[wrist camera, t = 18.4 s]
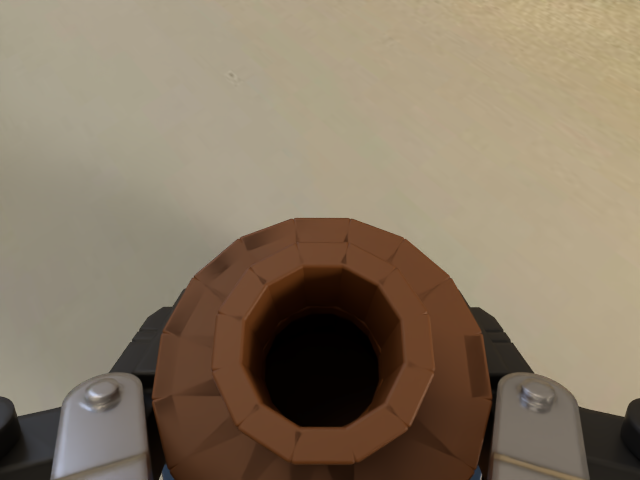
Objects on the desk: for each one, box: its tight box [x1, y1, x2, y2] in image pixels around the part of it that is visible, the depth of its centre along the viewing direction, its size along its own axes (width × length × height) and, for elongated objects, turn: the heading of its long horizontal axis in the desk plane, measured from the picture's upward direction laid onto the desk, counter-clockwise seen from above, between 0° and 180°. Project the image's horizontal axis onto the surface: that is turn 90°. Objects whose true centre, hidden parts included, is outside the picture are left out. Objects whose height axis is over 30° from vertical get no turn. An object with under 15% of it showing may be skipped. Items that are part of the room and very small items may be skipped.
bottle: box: [152, 218, 492, 480], centre depth 11 cm, size 6×6×11 cm
